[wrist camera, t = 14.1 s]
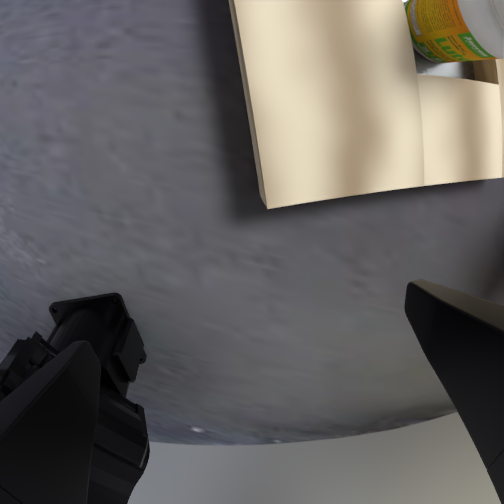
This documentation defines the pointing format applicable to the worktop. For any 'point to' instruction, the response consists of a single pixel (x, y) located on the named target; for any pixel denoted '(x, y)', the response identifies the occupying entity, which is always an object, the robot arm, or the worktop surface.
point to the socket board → (359, 102)
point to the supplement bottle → (456, 29)
